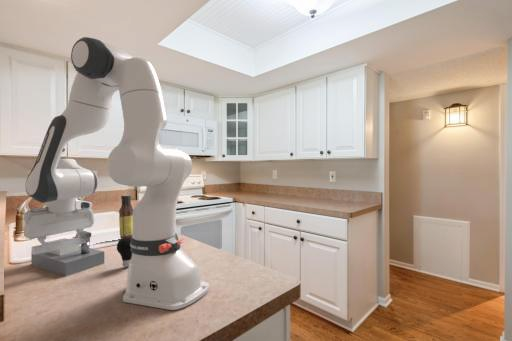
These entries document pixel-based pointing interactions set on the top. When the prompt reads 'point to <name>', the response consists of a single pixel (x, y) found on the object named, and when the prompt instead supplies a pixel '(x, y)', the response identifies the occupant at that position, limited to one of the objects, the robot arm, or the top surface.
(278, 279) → the top surface
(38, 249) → the t key
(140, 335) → the top surface
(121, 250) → the light bulb
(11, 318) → the top surface
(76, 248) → the cover
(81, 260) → the housing
